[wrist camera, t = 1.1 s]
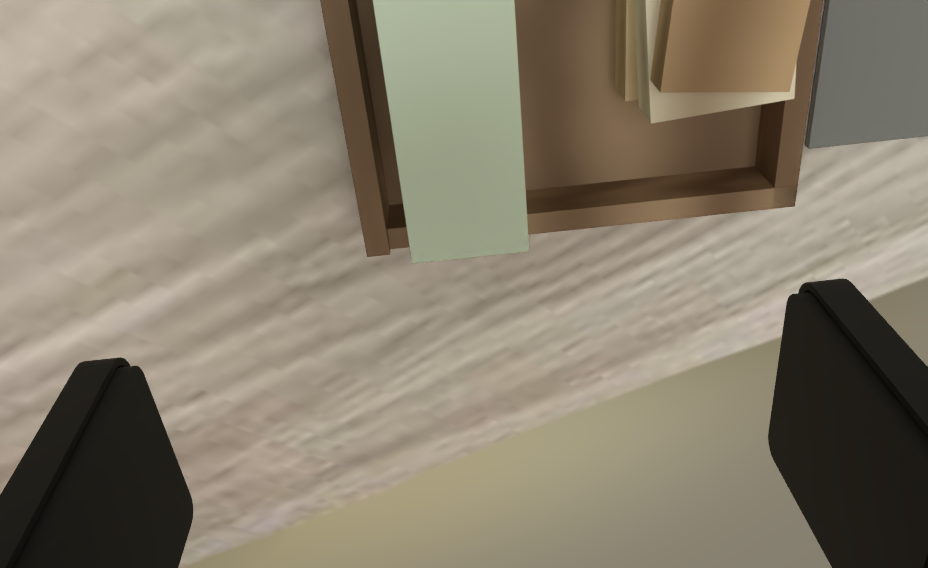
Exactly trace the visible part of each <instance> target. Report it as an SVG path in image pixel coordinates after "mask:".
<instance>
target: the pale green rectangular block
mask: <svg viewBox="0 0 928 568" xmlns="http://www.w3.org/2000/svg"><path fill="white" fill-rule="evenodd" d="M373 5H374V11H375V18H376V25H377V32H378V38H379V45H380V52H381V58H382V65H383V72H384V78H385V85H386V92H387V98H388V105H389V112H390V119H391V125H392V132H393V139H394V145H395V152H396V159H397V165H398V172H399V179H400V185H401V192H402V199H403V206H404V212H405V219H406V226H407V232H408V239H409V246H410V252H411V259H412V264H415V263H424V262H434V261H443V260H453V259H462V258H472V257H481V256H491V255H500V254H510V253H519V252H529V240H528V223H527V206H526V189H525V172H524V155H523V138H522V122H521V105H520V88H519V71H518V54H517V37H516V20H515V3H514V0H373Z"/></svg>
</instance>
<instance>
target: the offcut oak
mask: <svg viewBox="0 0 928 568" xmlns="http://www.w3.org/2000/svg"><path fill="white" fill-rule="evenodd" d="M615 87H616V88H617V90H618V91H619V93H620V94H621V96H622V97H623V99H624V100H625V101H633V100H639V98H638V79H637V59H636V40H635V20H634V0H616V18H615Z"/></svg>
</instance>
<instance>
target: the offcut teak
mask: <svg viewBox="0 0 928 568" xmlns="http://www.w3.org/2000/svg"><path fill="white" fill-rule="evenodd" d="M809 5H810V0H661V3H660V11H659V18H658V26H657V33H656V41H655V48H654V56H653V63H652V70H651V78H650V80H651V82H652V83H653V84H654V85H655V87H656V88H657V89H658V90H659V92H660V93H687V92H790V88H791V83H792V79H793V75H794V70H795V66H796V62H797V57H798V53H799V48H800V44H801V40H802V35H803V31H804V27H805V22H806V18H807V14H808V9H809Z"/></svg>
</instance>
